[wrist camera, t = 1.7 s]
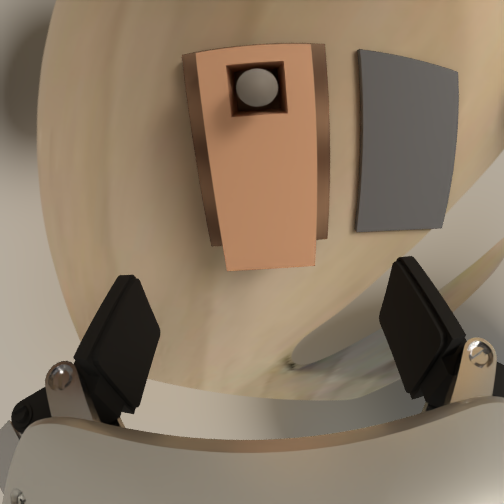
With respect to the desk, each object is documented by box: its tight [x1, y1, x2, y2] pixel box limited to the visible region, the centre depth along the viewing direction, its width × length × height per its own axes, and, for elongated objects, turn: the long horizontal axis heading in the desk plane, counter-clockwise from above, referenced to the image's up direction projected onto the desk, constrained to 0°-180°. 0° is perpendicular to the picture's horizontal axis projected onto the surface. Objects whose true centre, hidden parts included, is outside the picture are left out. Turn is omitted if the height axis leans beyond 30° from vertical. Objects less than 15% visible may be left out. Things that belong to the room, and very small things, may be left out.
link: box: [196, 44, 317, 271], centre depth 17 cm, size 14×6×5 cm, turn 5°
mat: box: [355, 49, 459, 232], centre depth 19 cm, size 16×10×1 cm, turn 5°
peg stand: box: [182, 43, 330, 246], centre depth 16 cm, size 16×10×9 cm, turn 5°
